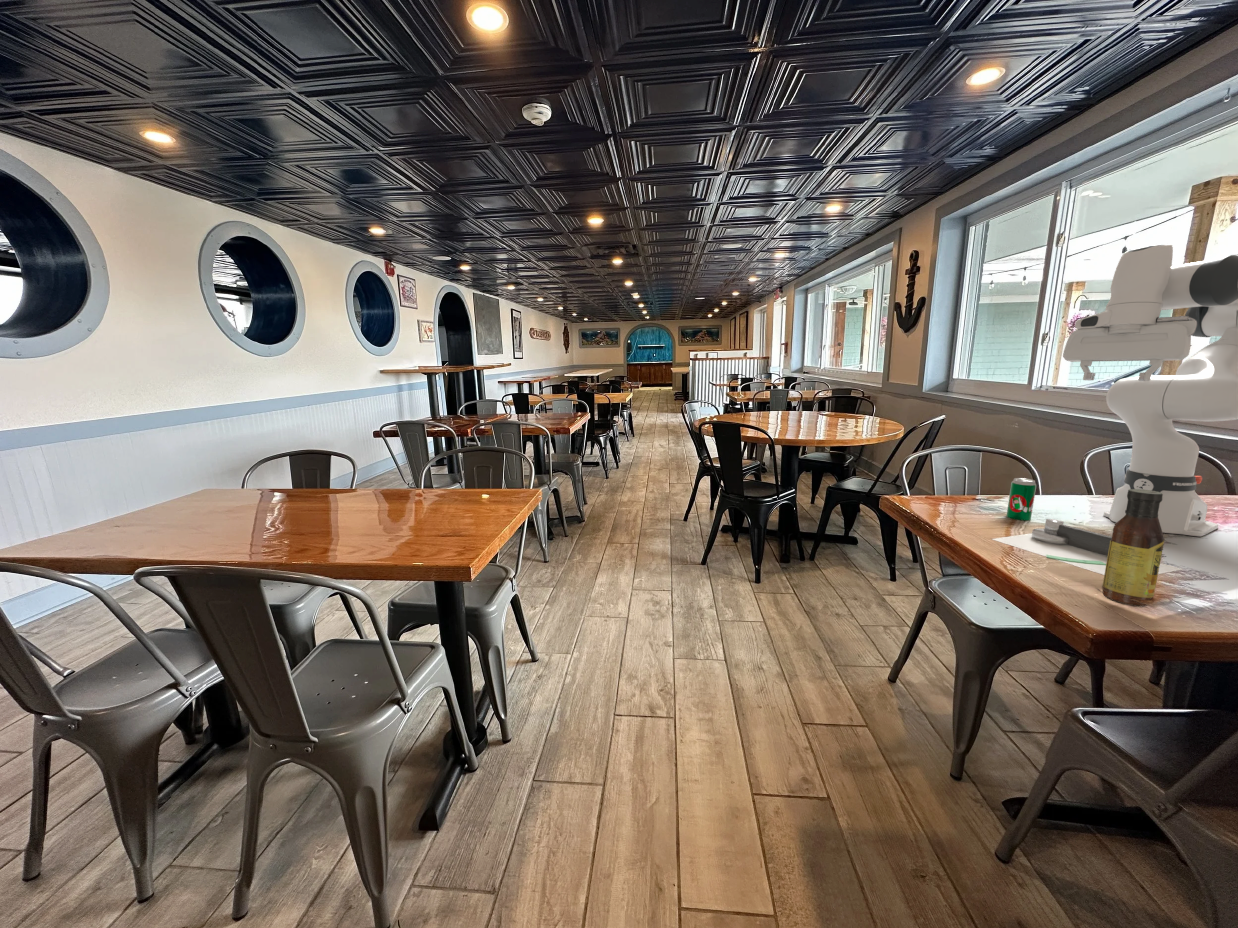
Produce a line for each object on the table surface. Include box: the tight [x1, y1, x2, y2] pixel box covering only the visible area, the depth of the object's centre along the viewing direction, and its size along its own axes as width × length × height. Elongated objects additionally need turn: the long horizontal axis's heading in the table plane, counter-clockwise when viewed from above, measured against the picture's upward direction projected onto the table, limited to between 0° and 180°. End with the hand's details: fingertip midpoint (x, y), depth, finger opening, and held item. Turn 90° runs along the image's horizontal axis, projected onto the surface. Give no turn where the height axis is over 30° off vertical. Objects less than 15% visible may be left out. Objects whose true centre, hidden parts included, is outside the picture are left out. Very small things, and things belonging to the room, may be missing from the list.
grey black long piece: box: [1031, 518, 1112, 556], centre depth 104 cm, size 16×7×4 cm, turn 16°
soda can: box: [1005, 477, 1037, 522], centre depth 126 cm, size 5×5×12 cm
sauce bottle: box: [1102, 489, 1165, 607], centre depth 82 cm, size 6×6×20 cm
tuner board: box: [991, 532, 1184, 576], centre depth 102 cm, size 19×24×2 cm
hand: (1114, 380), depth 109 cm, fingers open, 8 cm apart
